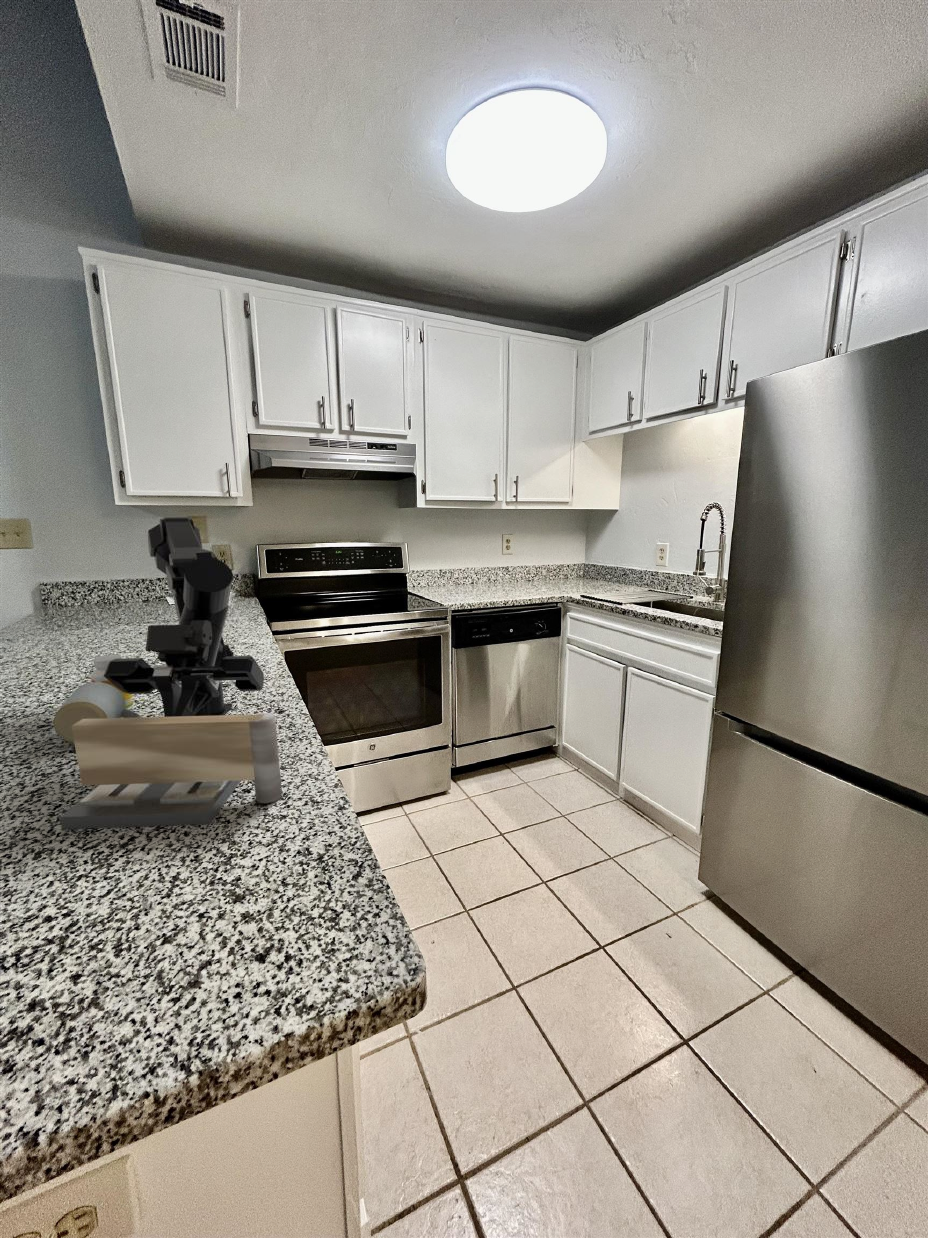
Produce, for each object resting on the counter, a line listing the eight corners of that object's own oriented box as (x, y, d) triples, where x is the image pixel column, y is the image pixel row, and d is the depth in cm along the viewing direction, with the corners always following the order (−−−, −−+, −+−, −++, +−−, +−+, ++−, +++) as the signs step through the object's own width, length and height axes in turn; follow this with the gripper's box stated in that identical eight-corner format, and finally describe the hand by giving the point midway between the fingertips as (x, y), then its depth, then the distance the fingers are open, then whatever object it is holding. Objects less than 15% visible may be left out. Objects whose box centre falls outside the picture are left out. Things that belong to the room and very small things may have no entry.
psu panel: (126, 774, 68) (124, 760, 68) (248, 770, 69) (246, 757, 68) (62, 829, 56) (59, 813, 56) (209, 824, 57) (207, 808, 57)
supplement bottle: (140, 705, 92) (133, 653, 90) (118, 717, 87) (109, 662, 85) (113, 704, 93) (105, 652, 90) (89, 715, 87) (79, 661, 85)
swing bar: (99, 795, 63) (86, 717, 60) (285, 789, 64) (278, 712, 62) (83, 809, 60) (68, 727, 58) (277, 802, 61) (270, 722, 59)
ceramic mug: (53, 750, 75) (45, 701, 73) (74, 728, 82) (67, 683, 81) (136, 741, 78) (130, 693, 77) (149, 720, 86) (144, 677, 84)
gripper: (101, 599, 65) (53, 713, 57) (249, 597, 67) (223, 708, 58) (143, 642, 75) (108, 745, 66) (272, 640, 76) (254, 741, 67)
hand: (171, 735), depth 64 cm, fingers closed
